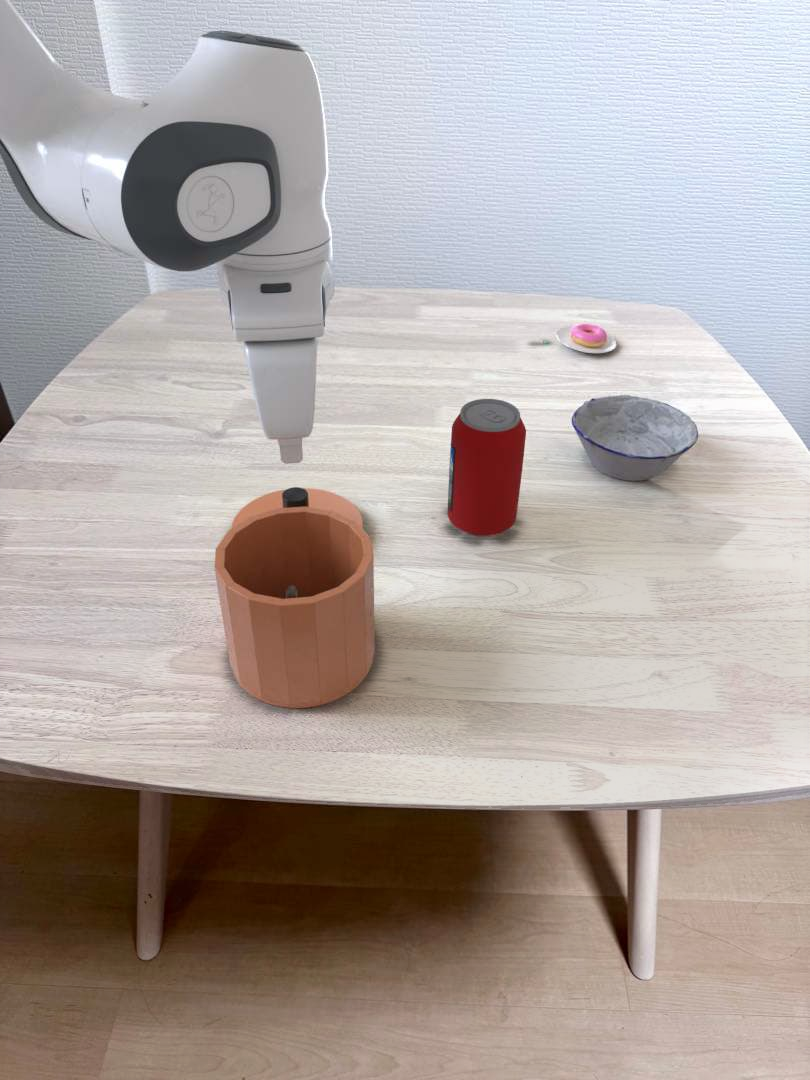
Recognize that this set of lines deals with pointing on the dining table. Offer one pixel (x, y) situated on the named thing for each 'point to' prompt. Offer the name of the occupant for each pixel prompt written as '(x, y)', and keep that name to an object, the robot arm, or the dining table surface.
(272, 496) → the lid
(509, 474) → the beverage can
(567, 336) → the donut
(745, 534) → the dining table surface
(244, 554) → the terracotta faceted cylinder
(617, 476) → the bowl
